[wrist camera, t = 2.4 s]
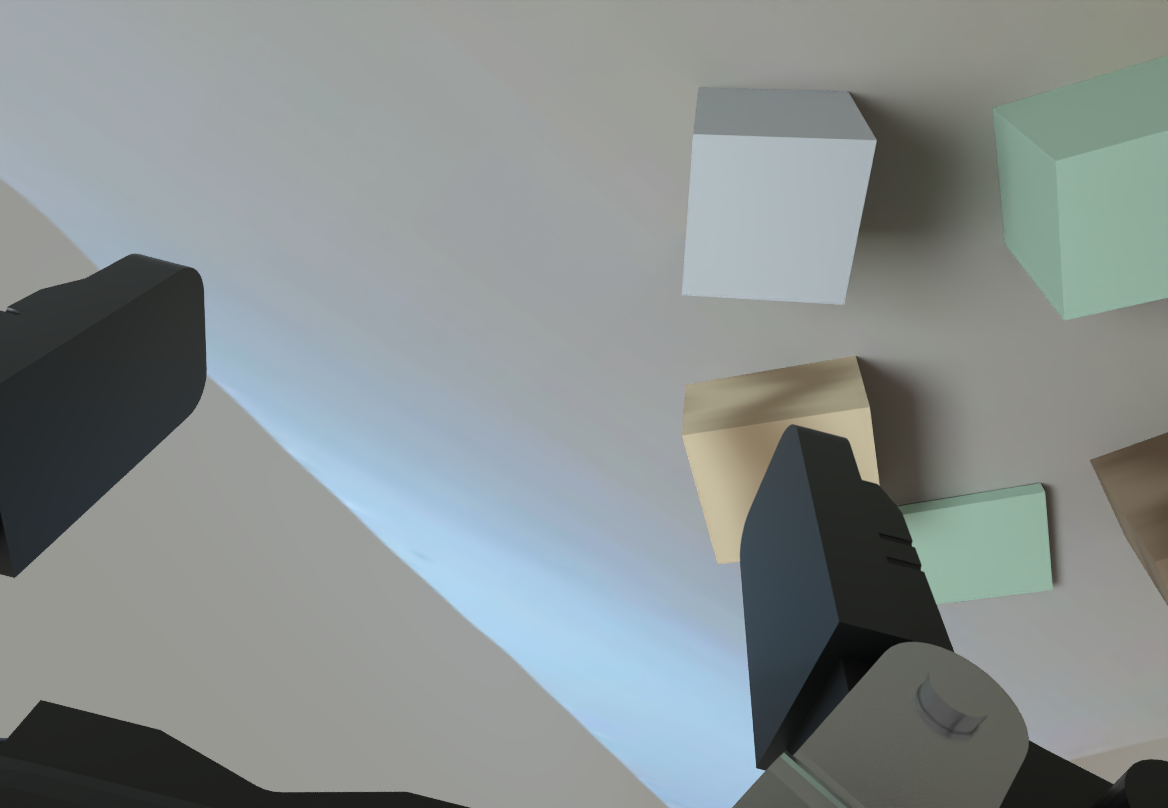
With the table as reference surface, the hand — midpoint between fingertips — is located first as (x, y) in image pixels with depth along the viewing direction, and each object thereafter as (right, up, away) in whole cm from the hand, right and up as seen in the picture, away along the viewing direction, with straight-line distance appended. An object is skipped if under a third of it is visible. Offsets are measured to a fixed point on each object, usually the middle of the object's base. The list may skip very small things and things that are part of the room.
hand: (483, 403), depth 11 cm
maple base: (+10, -1, +24) cm, 26 cm away
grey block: (+8, +9, +17) cm, 21 cm away
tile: (+19, -6, +25) cm, 33 cm away
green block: (+18, +8, +16) cm, 25 cm away
